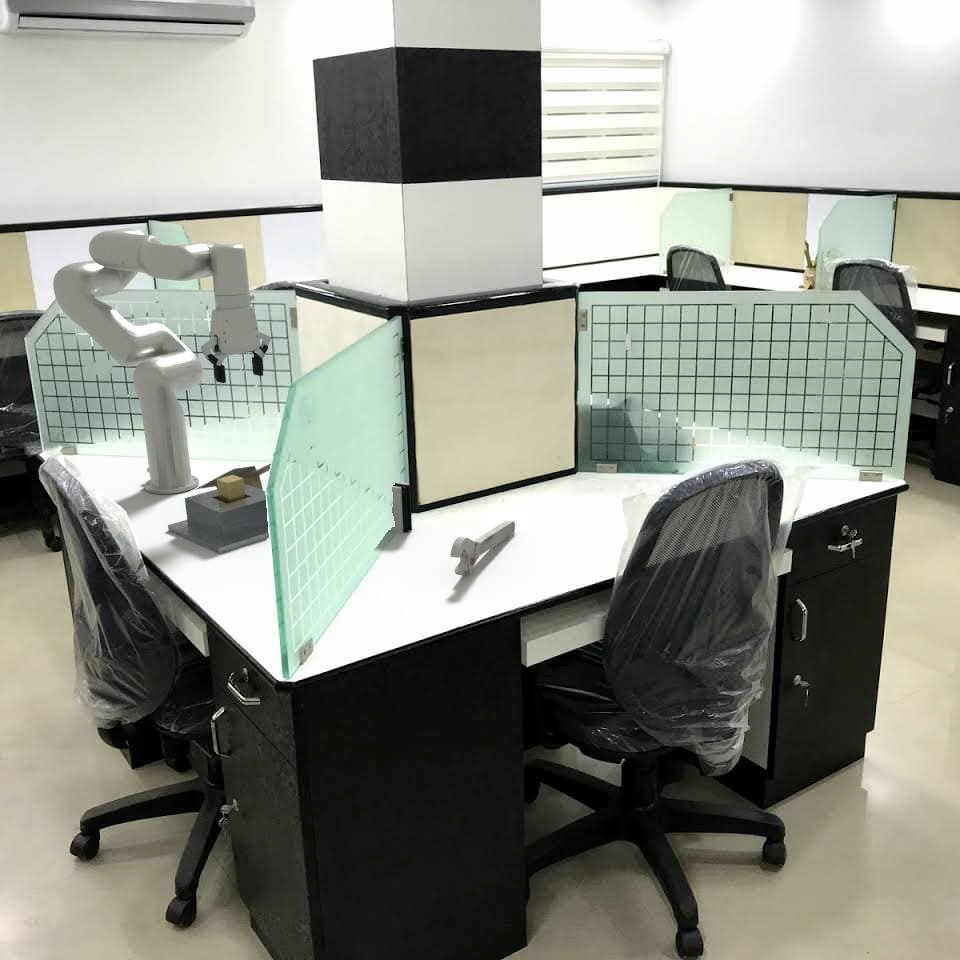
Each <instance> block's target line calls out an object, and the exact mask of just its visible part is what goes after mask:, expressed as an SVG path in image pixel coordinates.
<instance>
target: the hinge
mask: <svg viewBox="0 0 960 960" xmlns="http://www.w3.org/2000/svg"><path fill="white" fill-rule="evenodd" d="M395 482H396V483H395V485H393V487H392V492H393V507H392V513H393V516H394V521H395V527H392V528H391V530H389V531H388V532H392V533H398V534H404V533H405V534H408V533H409V532H411V531H412V530H413V522H412V521H413V517H412V500H411V485H410V483H407V482H401V481H395Z"/></svg>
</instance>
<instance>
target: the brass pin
mask: <svg viewBox="0 0 960 960" xmlns="http://www.w3.org/2000/svg"><path fill="white" fill-rule="evenodd" d="M217 488H218V497H219V501H222V502H224V503H227V504H228V503H231V502H235V501H238V500H242V499H245V487H244V479H243V478H241V477H238V476H235V475H231V476H227V477H223V478H219V479H217ZM217 488H216V489H217Z"/></svg>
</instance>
